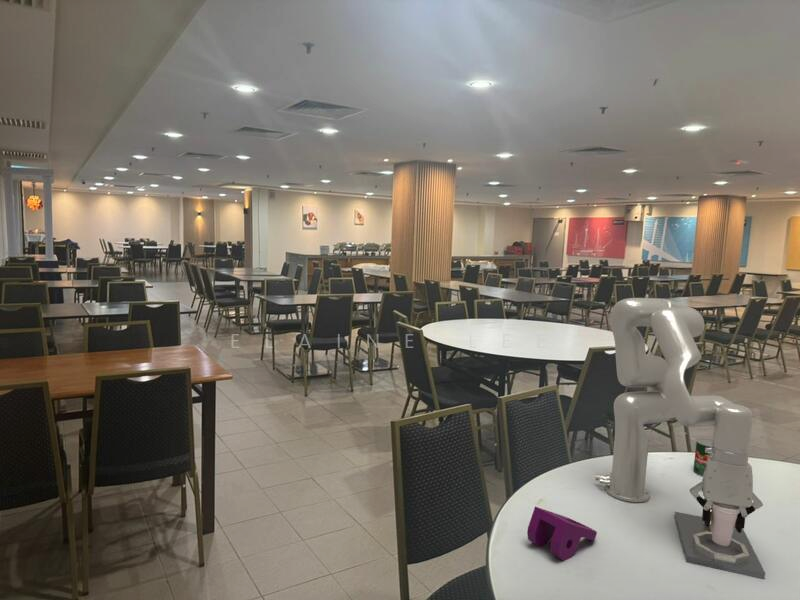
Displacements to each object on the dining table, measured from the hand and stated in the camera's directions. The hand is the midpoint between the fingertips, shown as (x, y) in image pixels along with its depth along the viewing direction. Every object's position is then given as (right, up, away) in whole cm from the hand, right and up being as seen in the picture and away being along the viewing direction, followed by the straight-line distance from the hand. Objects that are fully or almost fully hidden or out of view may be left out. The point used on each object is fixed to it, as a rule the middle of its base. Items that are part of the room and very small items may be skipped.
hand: (722, 526), depth 131 cm
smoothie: (0, -4, 0) cm, 4 cm away
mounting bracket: (-37, -6, +4) cm, 38 cm away
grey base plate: (+2, -7, +6) cm, 9 cm away
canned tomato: (+25, -4, +51) cm, 57 cm away
